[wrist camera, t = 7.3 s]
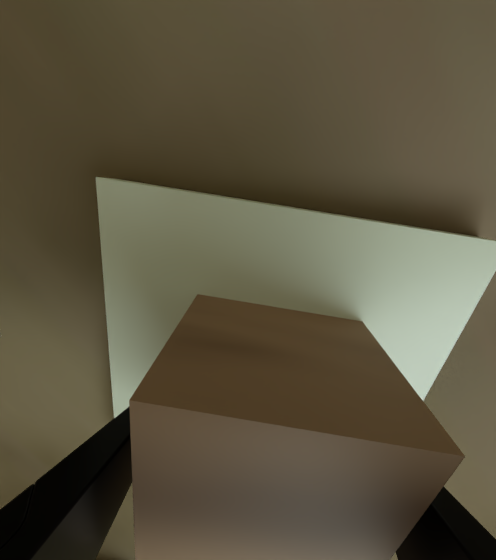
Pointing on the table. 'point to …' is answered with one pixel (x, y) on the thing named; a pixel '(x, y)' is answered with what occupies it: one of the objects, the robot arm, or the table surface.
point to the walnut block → (279, 440)
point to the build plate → (279, 273)
